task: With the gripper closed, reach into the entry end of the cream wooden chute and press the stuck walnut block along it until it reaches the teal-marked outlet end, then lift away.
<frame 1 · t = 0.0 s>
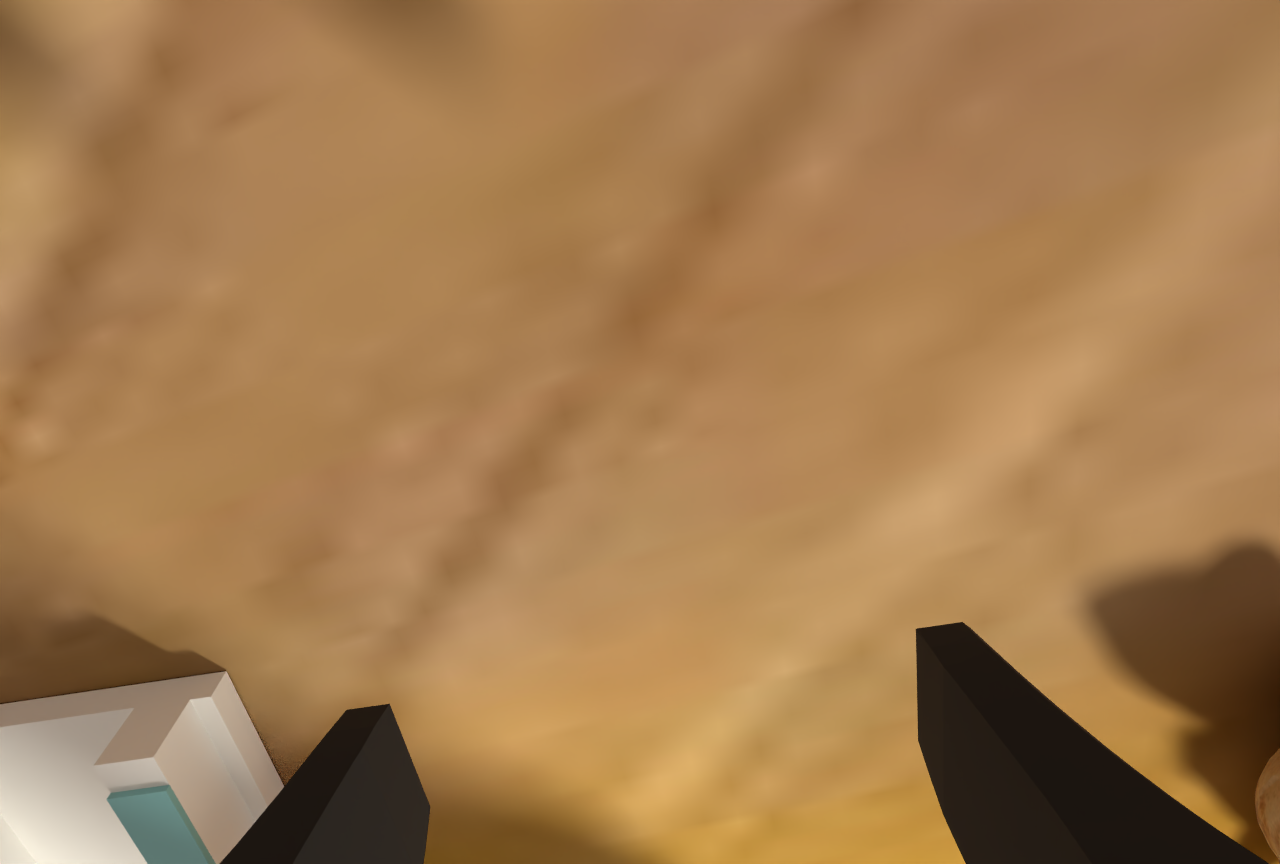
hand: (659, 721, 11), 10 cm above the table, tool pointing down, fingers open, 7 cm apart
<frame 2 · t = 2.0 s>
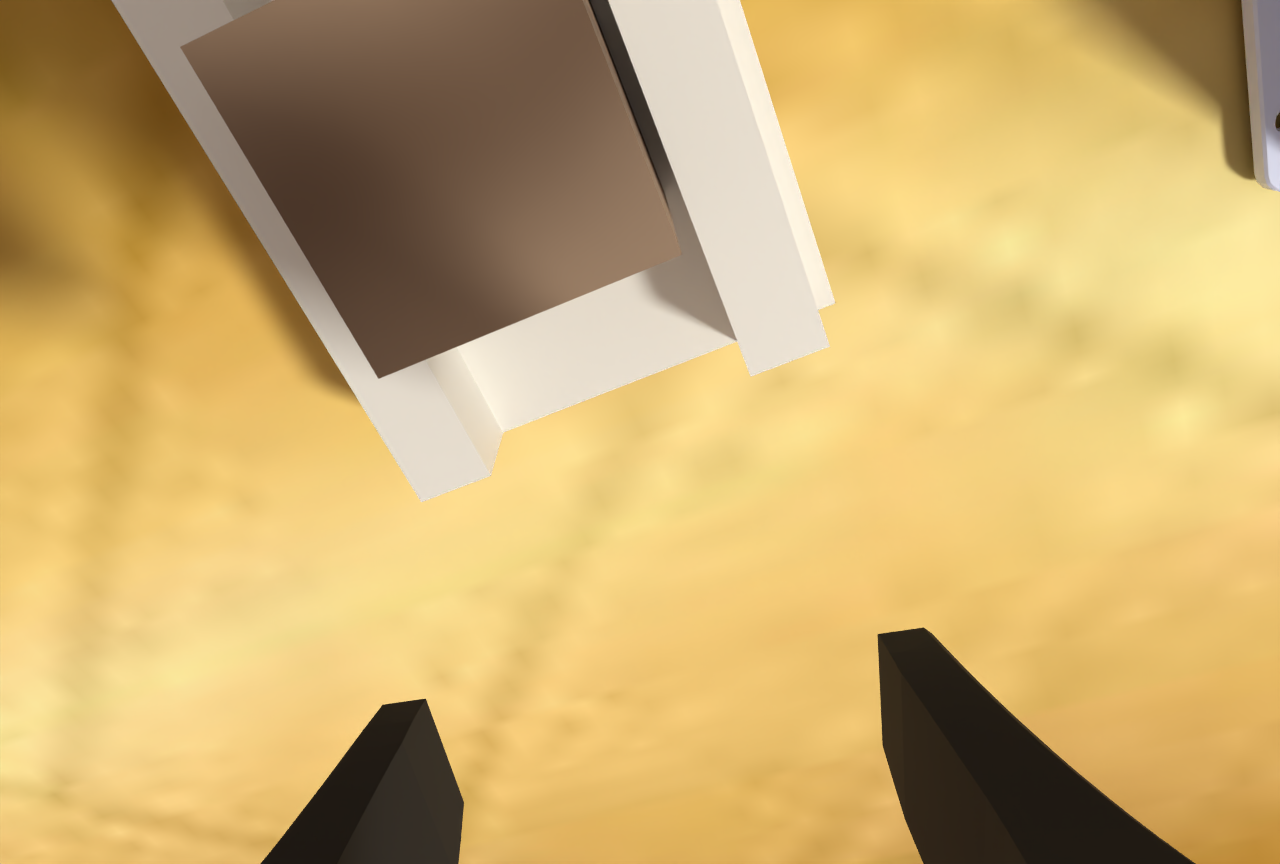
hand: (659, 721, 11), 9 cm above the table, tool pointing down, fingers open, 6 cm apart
walnut block: (473, 135, 14), point 4 cm above the table, slide at 0.0 cm
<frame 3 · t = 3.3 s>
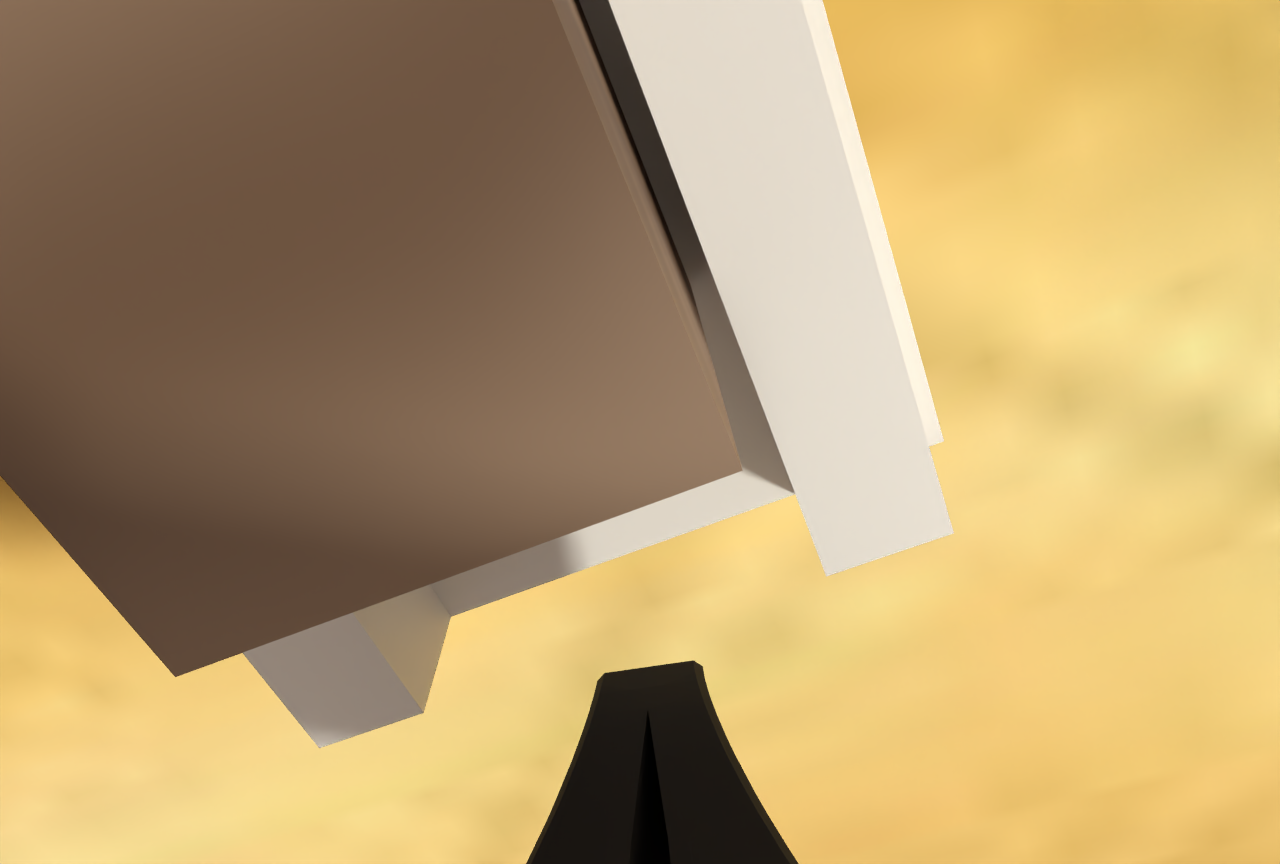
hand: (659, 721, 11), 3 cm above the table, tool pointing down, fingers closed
walnut block: (364, 218, 8), point 4 cm above the table, slide at 0.0 cm
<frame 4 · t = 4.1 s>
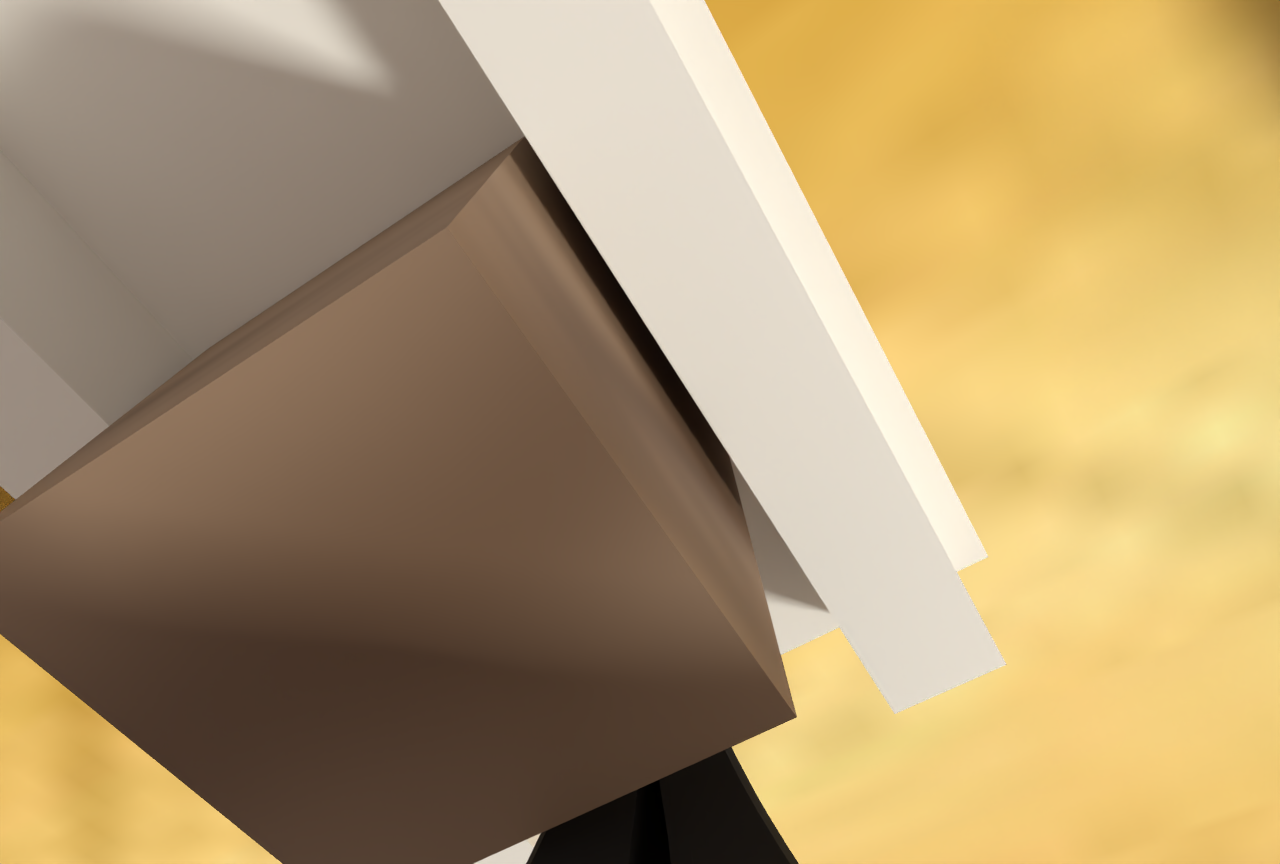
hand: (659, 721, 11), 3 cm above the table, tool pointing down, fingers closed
walnut block: (444, 496, 9), point 4 cm above the table, slide at 0.2 cm, touching gripper
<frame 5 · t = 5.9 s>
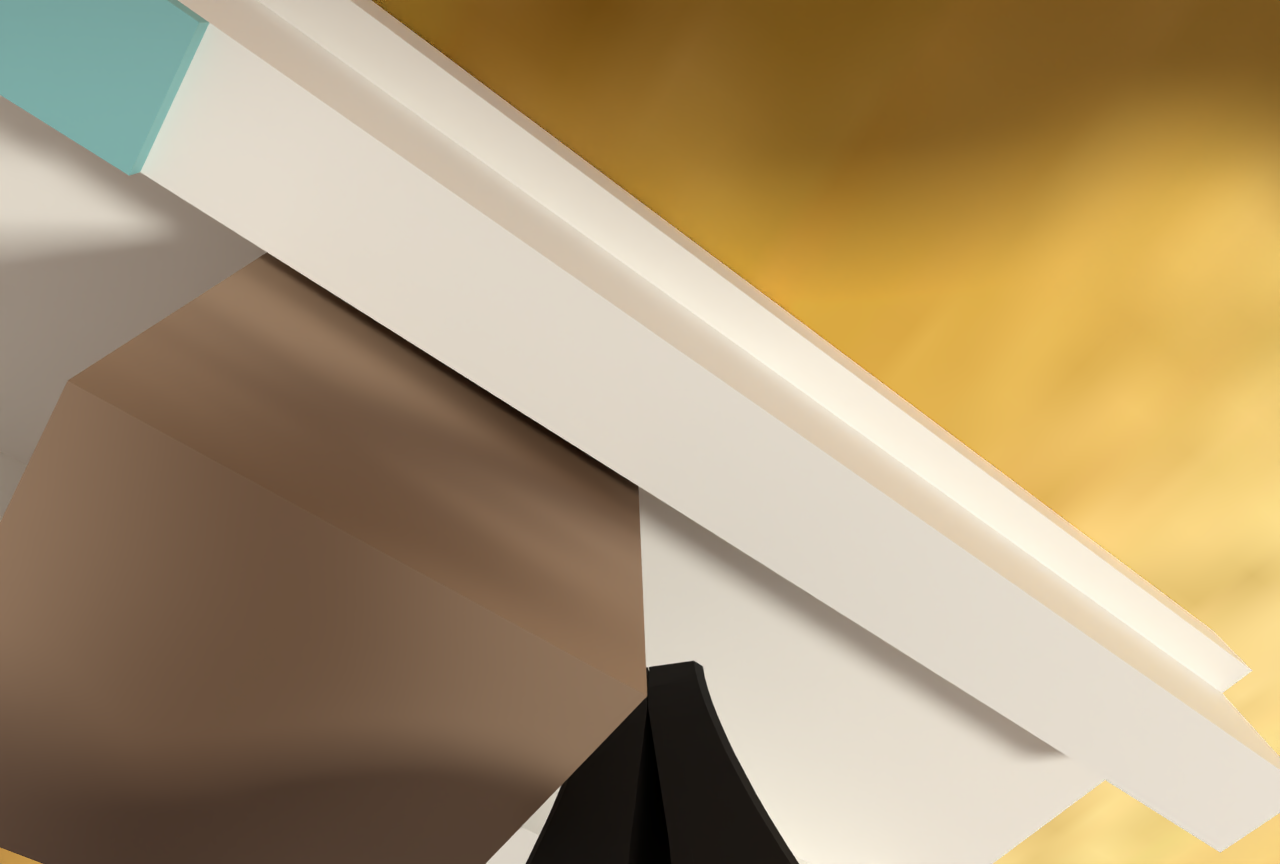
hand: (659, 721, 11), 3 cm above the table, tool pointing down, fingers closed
chute: (424, 453, 13), on the table
walnut block: (335, 580, 9), point 4 cm above the table, slide at 7.3 cm, touching gripper
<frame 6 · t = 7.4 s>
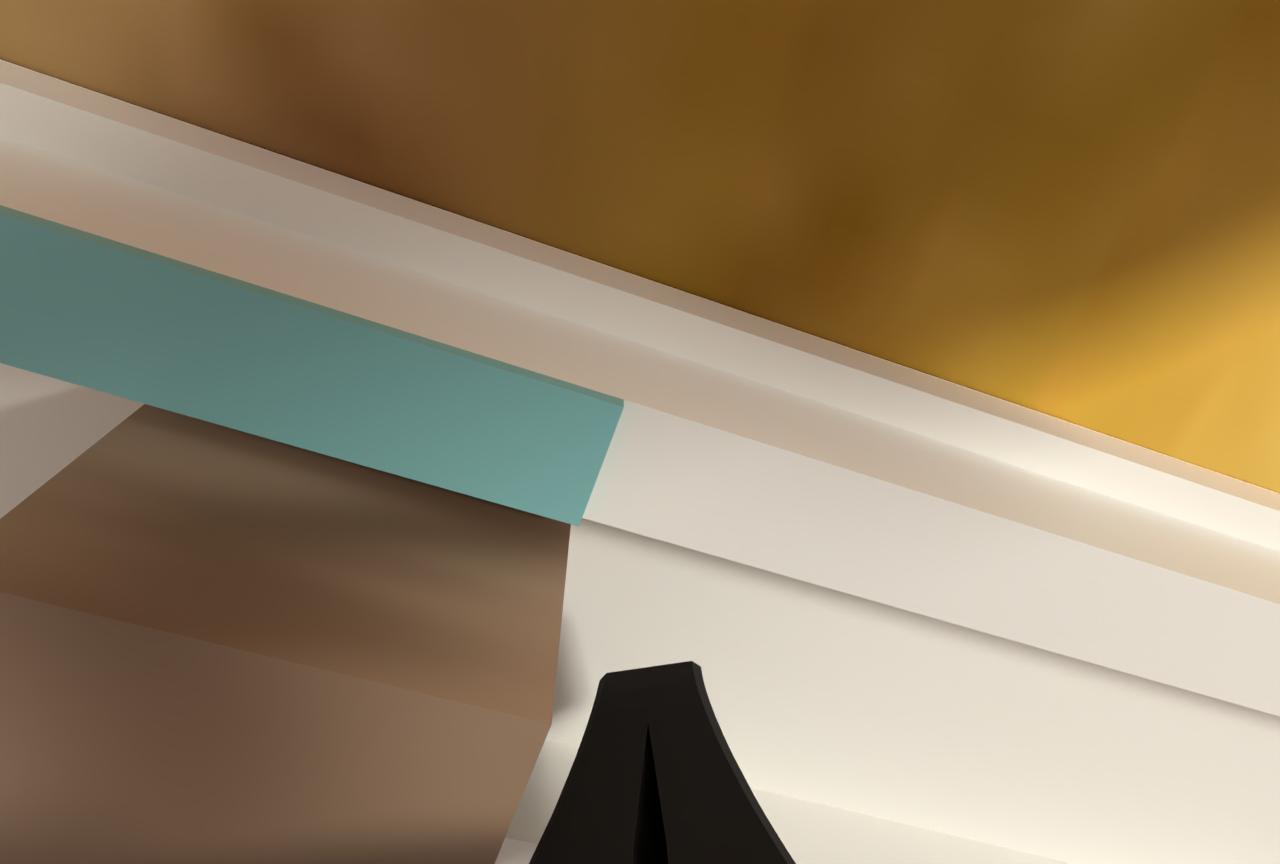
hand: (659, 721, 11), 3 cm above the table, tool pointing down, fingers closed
chute: (759, 619, 14), on the table
walnut block: (308, 669, 10), point 4 cm above the table, slide at 13.5 cm, touching gripper
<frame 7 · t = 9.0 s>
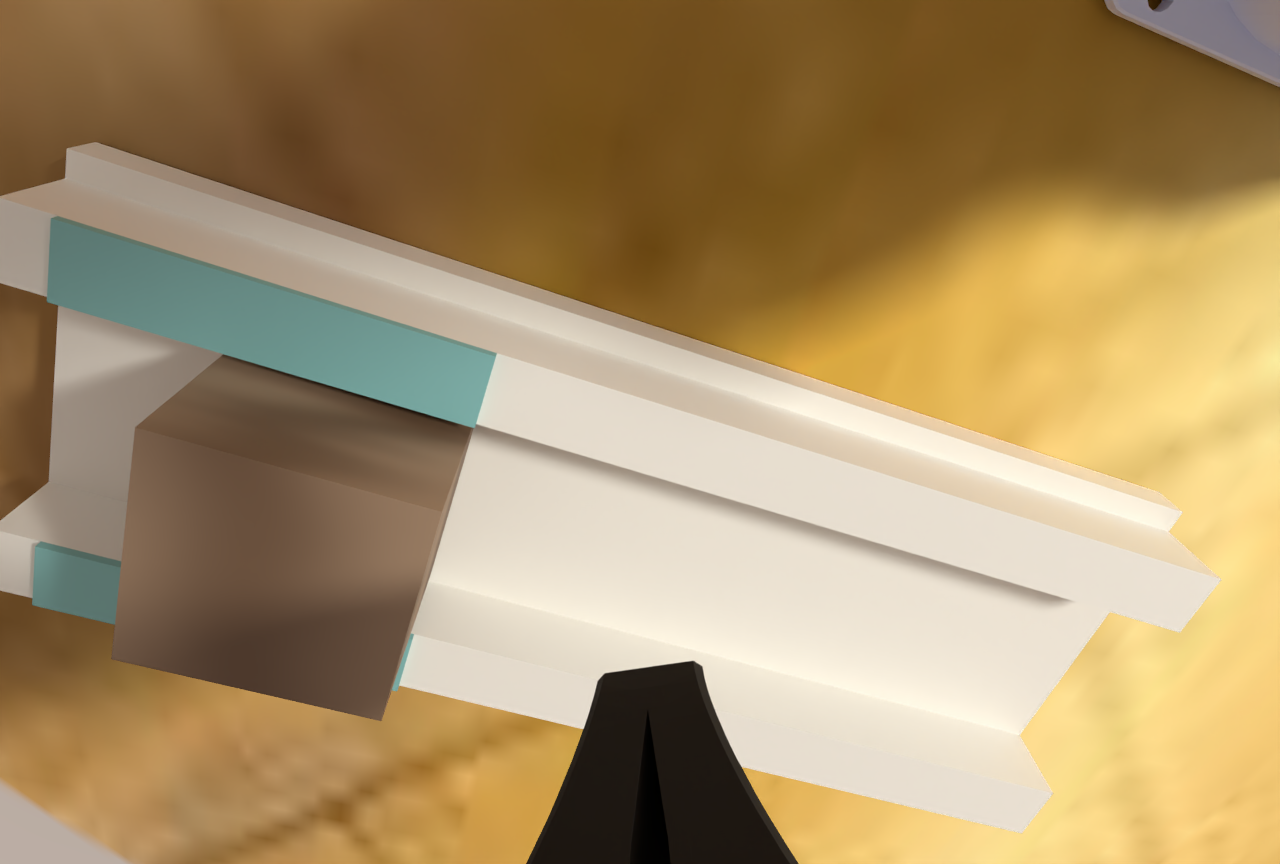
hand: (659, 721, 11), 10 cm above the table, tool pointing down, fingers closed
chute: (618, 513, 21), on the table
walnut block: (314, 515, 17), point 3 cm above the table, slide at 13.6 cm
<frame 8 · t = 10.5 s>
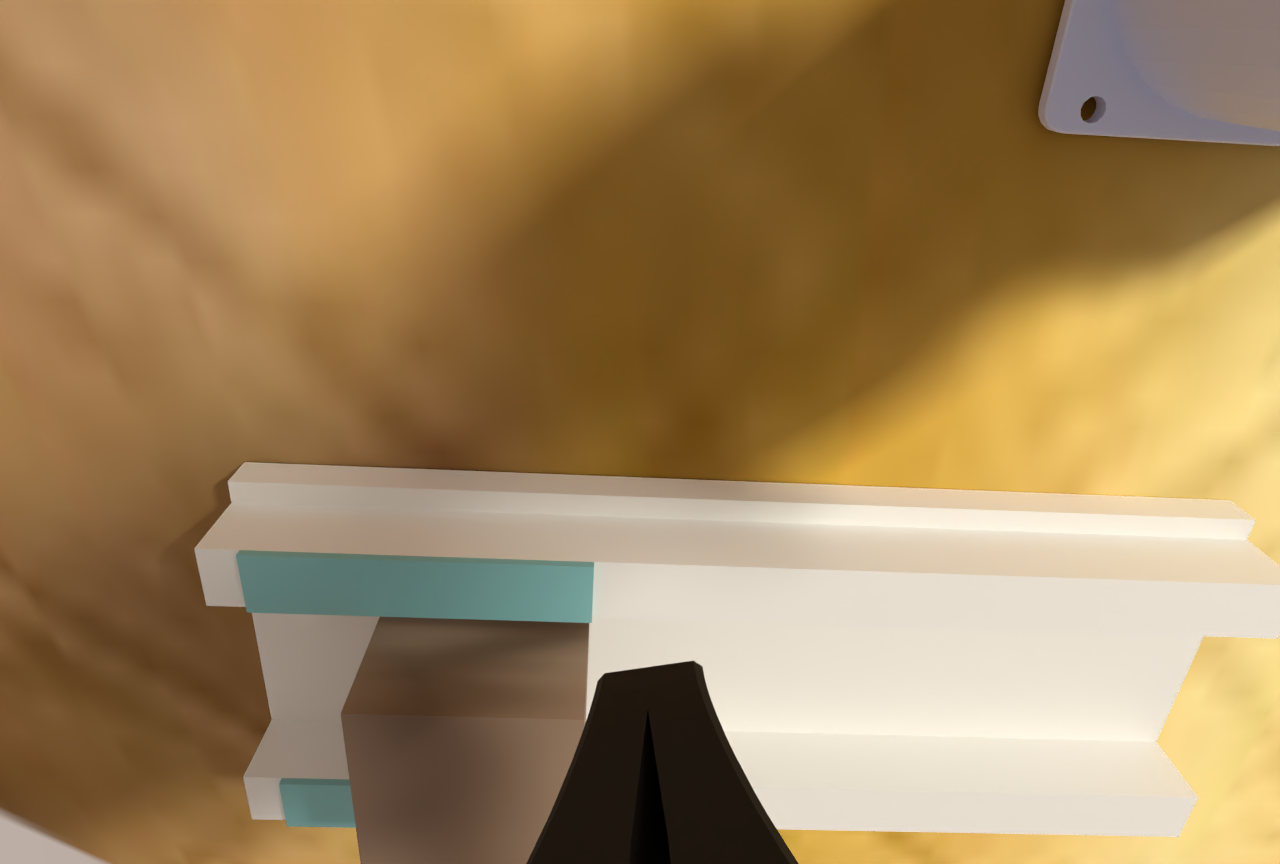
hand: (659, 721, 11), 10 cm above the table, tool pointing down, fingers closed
chute: (730, 632, 24), on the table
walnut block: (483, 718, 20), point 3 cm above the table, slide at 13.6 cm
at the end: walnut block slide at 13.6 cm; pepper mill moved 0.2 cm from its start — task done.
